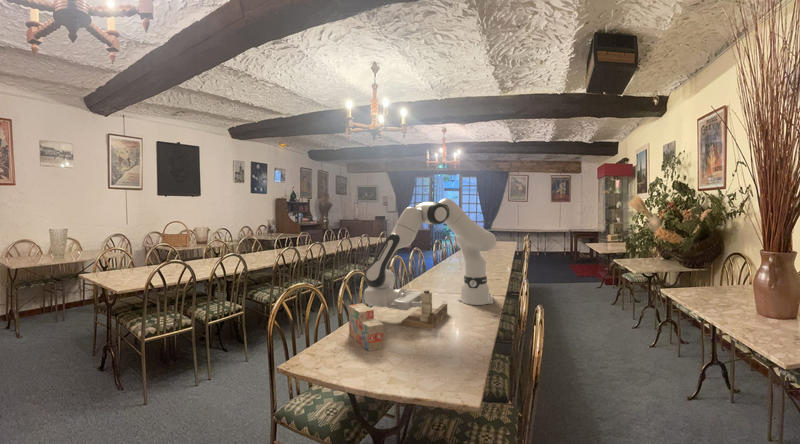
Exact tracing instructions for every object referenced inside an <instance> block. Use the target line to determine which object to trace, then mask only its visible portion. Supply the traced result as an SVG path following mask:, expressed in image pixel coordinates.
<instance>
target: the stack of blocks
mask: <svg viewBox="0 0 800 444" xmlns="http://www.w3.org/2000/svg"><path fill="white" fill-rule="evenodd" d="M374 313H375V311H374V309H372V308H371V307H369V306H367V305H366V304H364V303H362V302H361V303H356V304H349V305H348V331H349V333H348V334H349V335H350V336H351V337H352V339H354V340H355V341H357V342H358V343H359V344H360V345H361V346H362V347H363V348H364V349H365V350H367V351H368V352H370V351H376V350H380V349H381V350H382V349H384V329H385V328H384V323H382V322H381V321H380V320H378V319H377V318H376V317H375V315H374Z"/></svg>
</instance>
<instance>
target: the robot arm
mask: <svg viewBox="0 0 800 444" xmlns="http://www.w3.org/2000/svg"><path fill="white" fill-rule="evenodd" d="M396 221H397V222H396V224H395V225H394V227H393V229H392V231H391V233H390V234H389V236H387V238H386V239H385V241H384V243H383V244H382V246H381V248H380V249H379V252H378V253H377V254H376V256H375V258H374V260H373V261H372V263H370V264H369V265H368V266H367V268H366V269H365V270H364V273H363V275H364V276H363V278H364V279H363V280H364V281H365V284H366V285H367V288H365V290H364V292H363V298H364V302H365V303H366V304H367V305H369V306H372V307H376V308H388V309H391V310H392V309H393V310H399V311H409V310H410V309H412V308H420V307H422V306H423V303H422V302H421V293H423V292H422V291H419V290H411V289H408V288H401V289H398V288H396V289H395V283H396V275H395V273H394V272H393V271H392V270H390V269H388V268H387V267H388V265H389V263H390V261H391V260H392V257H393V256H394V254H395V252H396V251H398V250H399V249H403V248H407V247H409V246H410V245H412V243H413V242H414V240H415V239H416V236H417V234H418V232H419V230H420V227H421V226H422V225H423V224H427V225H441V224H443V223H445V225H447V227H448V228H449V229H450V230H451V231H452V232H453V233H454V234H455V243H456V245H457V246H458V247H459V248H460V250H461V255H462V256H463V262H464V276H463V282H464V283H463V284H461V288H460V289H461V291H460V295H461V296H460V297H458V299H457V300H458V301H460V302H461V303H463V304H467V305H471V306H481V305H482V306H483V305H489V304H494V297H493V295H492V294H491V293H490V287H489V285H488V283H487V282H488V277H487V265H486V264H487V262H486V260H485V259H484V257H483V256H482V254H481V252H489V251H492V250H493V249H494V248H495V247H496V244H497V239H496V235H495V234H494V233H493V232H491V231H489V230H487V229H485V227H484V228H483V227H482V226H481V225H480V224H478V223H477V222H475V221H474V220H473V219H471V218H470V216H469V215H468V214H466V212H465V211H464V210H463V209H462V208H461V207H460V205H458V204H457V202H455V201H453V199H450V198H448V197H445V198H442V199H441V200H439V201H438V202H435V201H419V202H418V203H416V204H415V205H414V206H408V207H405V208H404V210H403V211H402V213H400V216H399V218H398V219H397V220H396Z"/></svg>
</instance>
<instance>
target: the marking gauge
mask: <svg viewBox="0 0 800 444" xmlns="http://www.w3.org/2000/svg"><path fill="white" fill-rule="evenodd" d="M420 302H422V303H423V306H422V307H421V311H422V313H421V314H420V321H424V322H428V316H430V315H431V314H432V313H433V311H432V308H433V292H432V291H430V290H428V289H425V290H423V292H422V293H421V301H420Z"/></svg>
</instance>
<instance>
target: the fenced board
mask: <svg viewBox="0 0 800 444" xmlns="http://www.w3.org/2000/svg"><path fill="white" fill-rule="evenodd" d="M432 311H433V313H432V314H431V315H430V316H428V322H424V321H420V314H421V313H422V311H421V307H417V309H415V310H414V311H413V312H412V313H410V314H409V315H408V316H406V317H405V318H404V319H402V320H401V326H403V327H410V328H411V327H413V328H418V329H419V328H420V329H428V330H433V329H434V328H435V327H436V326H437V325H439V323H440V322H441V321H443V319H444V318H445V317H447V315H448V303H441V305H439V307H437V308H433V307H432Z"/></svg>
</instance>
